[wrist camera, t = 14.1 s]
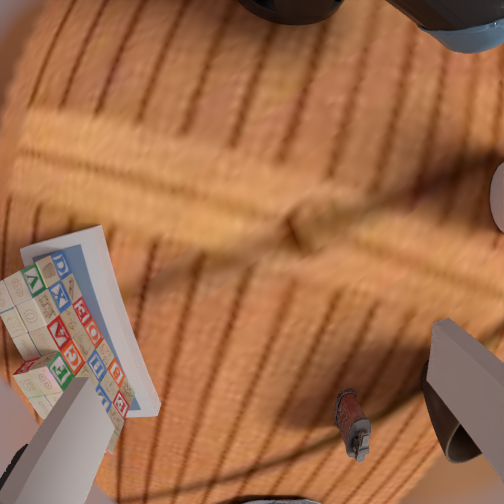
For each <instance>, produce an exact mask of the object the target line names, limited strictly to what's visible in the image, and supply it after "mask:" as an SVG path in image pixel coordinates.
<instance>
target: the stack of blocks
mask: <svg viewBox="0 0 504 504" xmlns="http://www.w3.org/2000/svg"><path fill="white" fill-rule="evenodd" d="M0 316H1V318H2V320H3V322H4V324H5V326H6V328H7V330H8V332H9V334H10V336H11V337H12V339H13V342H14V343H15V345H16V347H17V349H18V350H19V352H20V354H21V355H22V357H23V358H24V360H25V361H26V362H24V363H23V364H22V366H21V367H20V368H19V369H18V370H17V371H16V372H15V373H14V374H13V377H14V379H15V381H16V382H17V384H18V385H19V387H20V388H21V390H22V391H23V393H24V394H25V396H26V397H27V398H28V400H29V401H30V403H31V404H32V406H33V407H34V408H35V410H36V411H37V412H38V414H39V415H40V416H41V418H42V419H43V420H45V419H46V417H47V416H48V414H49V413H50V411H51V410H52V408H53V407H54V405H55V404H56V402H57V401H58V399H59V398H60V396H61V395H62V394H63V392H64V391H65V389H66V388H67V386H68V385H69V384H70V382H71V381H72V379H73V378H74V377H90V379H91V382H92V384H93V386H94V388H95V390H96V392H97V394H98V396H99V398H100V400H101V402H102V404H103V406H104V408H105V410H106V412H107V414H108V416H109V418H110V420H111V422H112V424H113V425H114V427H115V429H114V432H113V434H112V436H111V439H110V441H109V443H108V446H107V448H106V451H105V453H104V455H111V454H112V453H113V450H114V447H115V444H116V441H117V438H118V437H119V435H120V432H121V429H122V427H123V424H124V420H125V418H126V415H127V412H128V410H129V406H130V405H131V403H132V401H133V398H134V395H135V391H134V390H133V388H132V387H131V385H130V383H129V382H128V380H127V378H126V377H125V374H124V372H123V371H122V369H121V367H120V365H119V364H118V362H117V360H116V359H115V357H114V355H113V353H112V351H111V349H110V347H109V346H108V344H107V342H106V340H105V339H104V338H103V336H102V334H101V333H100V331H99V329H98V327H97V325H96V323H95V321H94V319H93V318H92V315H91V314H90V311H89V309H88V307H87V305H86V303H85V301H84V299H83V297H82V293H81V291H80V289H79V287H78V284H77V282H76V280H75V278H74V275H73V273H72V271H71V268H70V266H69V264H68V261H67V259H66V257H65V254H64V252H63V250H60V251H58V252H56V253H54V254H51V255H49V256H47V257H45V258H42V259H40V260H38V261H36V262H34V263H32V264H30V265H28V266H26V267H24V268H22V269H20V270H19V271H17V272H15V273H14V274H12V275H10V276H8V277H6V278H5V279H3V280H1V281H0Z"/></svg>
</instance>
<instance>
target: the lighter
mask: <svg viewBox="0 0 504 504" xmlns="http://www.w3.org/2000/svg"><path fill="white" fill-rule="evenodd" d="M334 418H335V423H336V426H337V428H338V429H339V430H340V433H341V435H342V438H343V441H344V443H345V446H346V452H347V455H348V456H349V457H355V459H356V461H357V462H362V461H364V459H365V455H366V454H368V453H369V446H368V442H369V439H370V432H371V426H370V421H369V419H368V418H367V417H366V416H365V414H364V413H363V411H362V409H361V407H360V405H359V403H358V401H357V399H356V394H355V392H354V391H353V390H352V389H345V390H343V391H341V392H340V393H339V395H338V398H337V401H336V405H335V410H334Z"/></svg>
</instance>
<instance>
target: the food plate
mask: <svg viewBox="0 0 504 504" xmlns="http://www.w3.org/2000/svg"><path fill="white" fill-rule="evenodd" d="M240 504H321V503H318V502H315V501H311V500H308V499H307V500H306V499H305V500H304V499H303V500H289V499H288V500H262V501H261V500H256V501H246V502H243V503H240Z"/></svg>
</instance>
